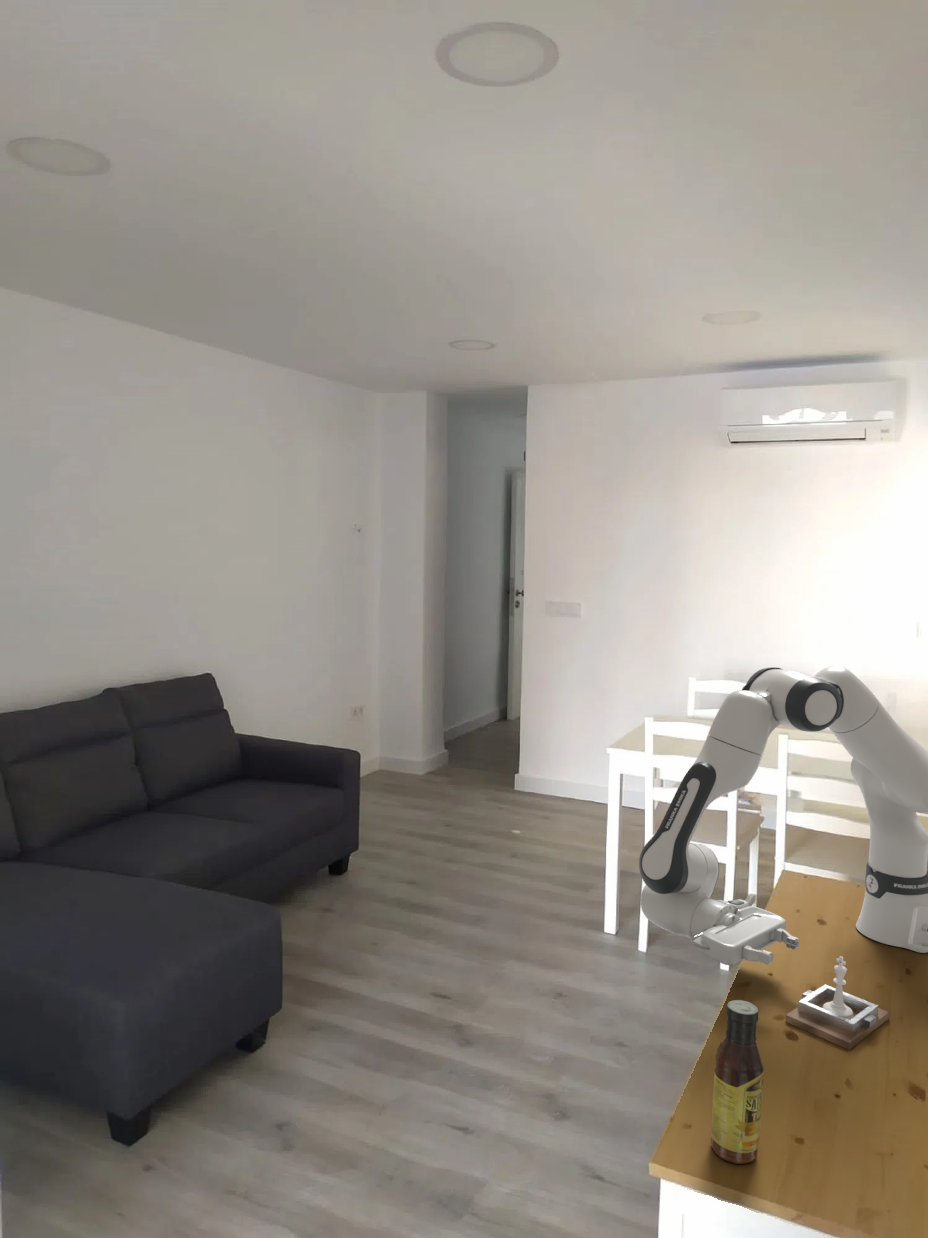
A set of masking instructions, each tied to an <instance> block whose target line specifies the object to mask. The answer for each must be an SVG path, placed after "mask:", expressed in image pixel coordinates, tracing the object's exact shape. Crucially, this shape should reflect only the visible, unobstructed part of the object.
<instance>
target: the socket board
mask: <svg viewBox="0 0 928 1238" xmlns="http://www.w3.org/2000/svg"><path fill="white" fill-rule="evenodd" d="M831 1001H833V1000H831V999H829V998H826V999H825V1000H823V1001H822V1002H820V1003H819V1004H817V1005H816V1006H818V1007H821V1008H823V1005H824V1004H825V1003H827V1002H831ZM849 1008H851V1007H849ZM851 1009H852V1011H853V1017H855V1016H856V1015H857V1014H859V1013H860V1011H858V1010H855V1009H853V1008H851ZM889 1017H890V1012H889V1011H887V1010H884V1009H882V1008H880V1007H878V1016H877V1017H876V1023H875V1024H873V1025H872V1026H871V1027H870V1028H869V1027H867V1026H864V1027H862V1028H861V1029H860V1030H858V1031H857V1032H856V1033H855V1034H853V1035H852V1034H849V1033H847V1032H845V1031H843V1030H840V1029H838V1028H836V1027H833V1026H831V1025H829V1024H826V1023H824V1022H822V1021H819V1020H817V1019H815V1018H812V1017H810V1016H808V1015H805V1014H803V1013H801V1012H798V1006H797V1007H796V1008H794V1009H793V1010H791V1011H789V1012H788V1013H786V1014H785V1022H786V1023H788V1024H790V1025H792V1026H794V1027H797V1028H799V1029H801V1030H803V1031H806V1032H808V1033H811V1034H813V1035H814V1036H817V1037H820V1039H821V1038H822V1039H824V1040H826V1041H829V1042H830V1043H832V1044H835V1045H838V1046H839V1047H841V1048H844V1049H847V1050H851V1049H853V1048H854V1046H856V1045H857V1044H859V1043H860V1042H861V1041H862V1040H864V1039H865V1038H867V1036H869V1035H870V1034H871V1033H873V1032H874V1031H875V1030H876V1029H878V1028H879V1027H880V1026H881V1025H883V1024H884V1023H886V1022H887V1021H888V1020H889ZM850 1020H851V1019H850Z"/></svg>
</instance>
